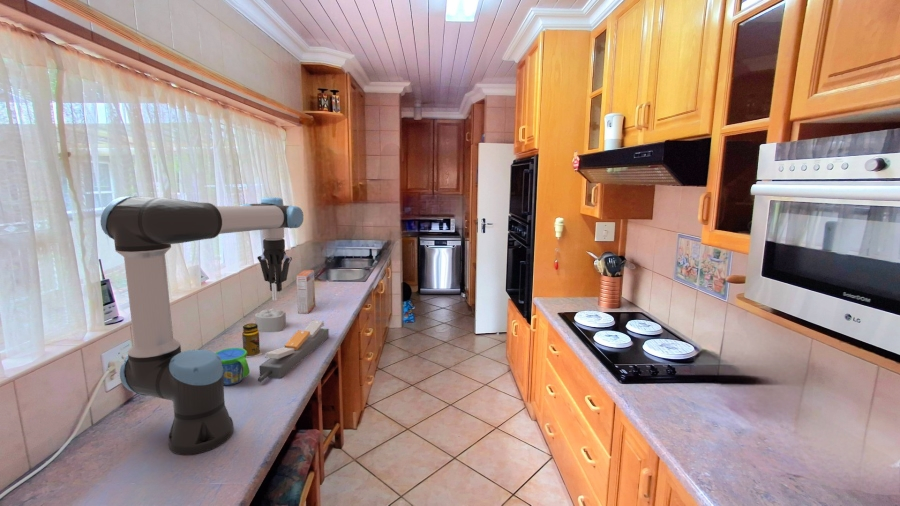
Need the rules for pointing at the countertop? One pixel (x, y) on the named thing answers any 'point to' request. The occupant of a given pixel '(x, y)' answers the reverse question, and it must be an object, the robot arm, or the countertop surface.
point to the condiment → (251, 339)
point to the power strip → (291, 357)
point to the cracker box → (305, 291)
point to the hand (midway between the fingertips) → (276, 299)
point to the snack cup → (234, 365)
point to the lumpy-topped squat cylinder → (270, 320)
